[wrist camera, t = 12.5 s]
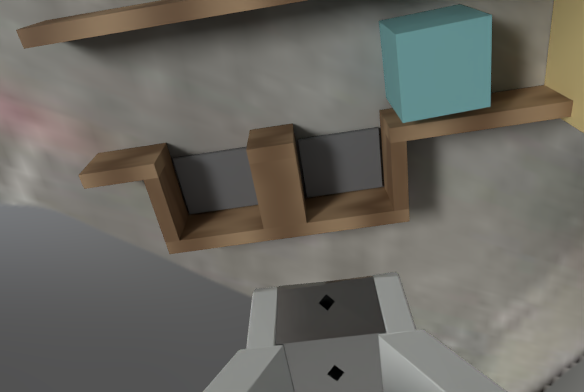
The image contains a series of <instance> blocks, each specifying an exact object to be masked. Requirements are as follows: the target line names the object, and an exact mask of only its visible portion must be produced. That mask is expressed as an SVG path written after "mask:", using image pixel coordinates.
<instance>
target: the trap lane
mask: <svg viewBox="0 0 584 392" xmlns="http://www.w3.org/2000/svg"><path fill="white" fill-rule="evenodd" d="M300 1H306V0H161V1H155V2H149V3H144V4H138V5H132V6H126V7H121V8H115V9H109V10H103V11H98V12H92V13H86V14H80V15H75V16H69V17H63V18H57V19H52V20H46V21H43V22H39V23H36V24H33V25H30V26H27V27H24V28H21V29H18V30H16V31H17V33H18V36H19V38H20V40H21V43H22V45H23V47H24V49H25V48H31V47H36V46H42V45H48V44H54V43H60V42H66V41H72V40H77V39H83V38H89V37H95V36H101V35H107V34H113V33H119V32H124V31H130V30H136V29H142V28H148V27H154V26H160V25H165V24H171V23H177V22H183V21H189V20H195V19H201V18H207V17H212V16H218V15H224V14H230V13H236V12H242V11H248V10H253V9H259V8H265V7H271V6H277V5H283V4H289V3H295V2H300ZM572 107H573V100H571V99H569V98H567V97H566V96H564V95H562V94H560V93H558V92H556V91H555V90H553V89H551V88H549V87H547V86H545V85H541V86H534V87H528V88H521V89H514V90H508V91H501V92H495V93H491V106H490V107H486V108H481V109H476V110H470V111H465V112H460V113H454V114H449V115H443V116H438V117H433V118H427V119H422V120H417V121H411V122H406V123H402V121H401V120H400V118H399V117H398V115H397V113H396V112H395V110H394V109H393V108H390V109H384V110H379V111H380V126H381V142H382V157H383V173H384V187H380V188H373V189H366V190H359V191H352V192H345V193H338V194H331V195H324V196H317V197H310V198H305V196H304V190H303V184H302V178H301V172H300V166H299V159H298V153H297V147H296V141H295V135H294V129H293V124H286V125H280V126H273V127H266V128H260V129H253V130H250V133H249V138H248V143H247V148H246V151H247V156H248V160H249V165H250V169H251V174H252V178H253V183H254V187H255V192H256V196H257V201H258V205H253V206H246V207H239V208H232V209H225V210H218V211H211V212H204V213H197V214H190V215H189V214H188V211H187V207H186V204H185V201H184V198H183V195H182V191H181V188H180V185H179V182H178V179H177V175H176V172H175V169H174V166H173V163H172V159H171V156H170V153H169V150H168V147H167V144H166V143H162V144H155V145H149V146H142V147H136V148H129V149H123V150H116V151H110V152H103V153H98V154H97V155H96V156H95V157H94V158H93V160H92V161H91V162H90V163H89V164H88V165H87V166H86V167H85V168H84V170H83V171H82V172H81V173H80V174H79V178H80V180H81V182H82V185H83V187H84V189H86V188H93V187H99V186H106V185H113V184H120V183H126V182H133V181H140V180H144V183H145V186H146V189H147V192H148V194H149V197H150V200H151V203H152V206H153V208H154V211H155V214H156V217H157V220H158V223H159V225H160V228H161V231H162V234H163V237H164V239H165V242H166V245H167V248H168V251H169V254H174V253H181V252H189V251H196V250H203V249H211V248H218V247H225V246H233V245H240V244H247V243H254V242H262V241H269V240H276V239H284V238H291V237H298V236H306V235H313V234H320V233H327V232H335V231H342V230H349V229H357V228H364V227H371V226H379V225H386V224H393V223H400V222H408V221H409V194H408V167H407V141H410V140H416V139H423V138H430V137H437V136H443V135H450V134H457V133H464V132H470V131H477V130H484V129H491V128H497V127H504V126H511V125H518V124H524V123H531V122H538V121H545V120H551V119H558V118H565V117H571V113H572Z"/></svg>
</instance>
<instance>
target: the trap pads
mask: <svg viewBox="0 0 584 392" xmlns="http://www.w3.org/2000/svg"><path fill="white" fill-rule="evenodd" d="M298 143H299V149H300V155H301V162H302V168H303V174H304V180H305V186H306V193H307V197H314V196H321V195H328V194H335V193H342V192H349V191H356V190H363V189H370V188H377V187H382V174H381V160H380V145H379V130H378V127H375V128H368V129H362V130H355V131H348V132H342V133H335V134H328V135H322V136H315V137H309V138H302V139H298ZM246 148H247V147H242V148H236V149H229V150H222V151H216V152H209V153H202V154H196V155H189V156H183V157H176V158H173V161H174V165H175V168H176V171H177V174H178V178H179V181H180V184H181V187H182V190H183V194H184V197H185V200H186V203H187V206H188V210H189V213H190V214H195V213H202V212H209V211H216V210H223V209H230V208H237V207H244V206H251V205H258V201H257V196H256V192H255V187H254V183H253V178H252V174H251V169H250V165H249V160H248V156H247V151H246Z"/></svg>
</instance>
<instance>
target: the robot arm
mask: <svg viewBox="0 0 584 392" xmlns="http://www.w3.org/2000/svg"><path fill="white" fill-rule="evenodd" d="M203 392H507V391H506V390H504V389H503V388H502V387H500V386H499V385H498V384H496V383H495V382H494V381H492V380H491V379H490V378H488V377H487V376H486V375H484V374H483V373H482V372H480V371H479V370H478V369H476V368H475V367H474V366H472V365H471V364H470V363H468V362H467V361H466V360H464V359H463V358H462V357H460V356H459V355H458V354H456V353H455V352H454V351H452V350H451V349H450V348H448V347H447V346H446V345H444V344H443V343H442V342H440V341H439V340H438V339H436V338H435V337H434V336H432V335H431V334H430V333H429V332H427V331H426V330H424V329H423V330H417V329H416V326H415V323H414V320H413V317H412V314H411V311H410V308H409V304H408V301H407V298H406V295H405V292H404V289H403V286H402V283H401V280H400V276H399V274H398V273H397V272H391V273H384V274H377V275H373V276H366V277H358V278H350V279H342V280H334V281H327V282H316V283H306V284H295V285H285V286H279V287H269V288H259V289H255V290H254V292H253V295H252V304H251V314H250V322H249V331H248V340H247V348H246V349H243V350H239V351H238V352H237V353H236V354H235V355H234V357H233V358H232V359H231V360H230V361H229V362H228V364H227V365H226V366H225V367H224V368H223V369H222V370H221V372H220V373H219V374H218V375H217V376H216V378H215V379H214V380H213V381H212V382H211V383H210V384H209V385H208V387H207V388H206V389H205V390H204V391H203Z"/></svg>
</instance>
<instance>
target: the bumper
mask: <svg viewBox="0 0 584 392" xmlns="http://www.w3.org/2000/svg"><path fill="white" fill-rule="evenodd" d="M544 85H545V86H547V87H549V88H551V89H553V90H555V91H556V92H558V93H560V94H562V95H564V96H566V97H567V98H569V99H571V100H573V107H572V113H571V117H565V118H561V119H562V120H564V121H566V122H567V123H569V124H570V125H572V126H573V127H575V128H577V129H578V130H580V131H581V132H583V133H584V0H554V5H553V14H552V23H551V31H550V40H549V49H548V57H547V66H546V75H545V84H544Z"/></svg>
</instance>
